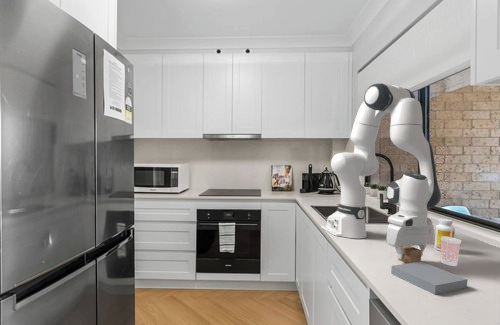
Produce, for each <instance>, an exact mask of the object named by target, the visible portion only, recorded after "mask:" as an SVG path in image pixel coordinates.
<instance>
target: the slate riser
mask: <svg viewBox="0 0 500 325" xmlns="http://www.w3.org/2000/svg"><path fill="white" fill-rule="evenodd" d="M390 273H391V275H393V276H396V277H398V278H400V279H402V280H403V281H406V282H409V283H410V284H412V285H414V286H415V287H418V288H421V289H422V290H425V291H426V290H427V292H428V291H429V292H428V293H430V294H432V295H438V294H439V293H440V294H444V293H448V292H454V291H457V289H459V290H463V289H462V288H464V289H468V279H467V278H465V277H462V276H460V275H457V274H454V273H452V272H449V271H447V270H445V269H442V268H440V267H436V266H435V265H433V264H432V265H431V264H429V263H426V262H424V261H421V262H416V263H408V264H406V263H402V264H395V265H391V271H390ZM453 290H454V291H453ZM440 294H439V295H440Z"/></svg>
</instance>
